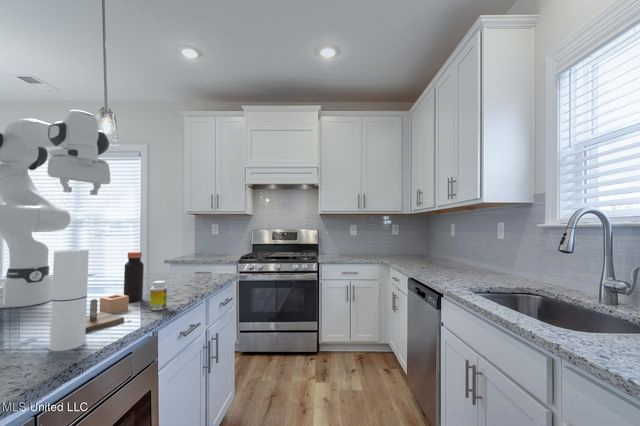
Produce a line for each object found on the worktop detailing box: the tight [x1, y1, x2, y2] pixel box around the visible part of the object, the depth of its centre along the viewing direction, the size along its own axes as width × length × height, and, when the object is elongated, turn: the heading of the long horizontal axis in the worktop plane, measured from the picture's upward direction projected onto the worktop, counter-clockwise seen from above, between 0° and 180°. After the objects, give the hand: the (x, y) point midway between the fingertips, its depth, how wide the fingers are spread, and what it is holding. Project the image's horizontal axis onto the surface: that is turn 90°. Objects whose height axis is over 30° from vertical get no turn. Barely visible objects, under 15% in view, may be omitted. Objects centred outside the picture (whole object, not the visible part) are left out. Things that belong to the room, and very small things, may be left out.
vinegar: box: [123, 251, 145, 303], centre depth 125 cm, size 7×7×20 cm
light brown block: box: [99, 293, 130, 315], centre depth 110 cm, size 6×6×5 cm
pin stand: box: [85, 298, 125, 334], centre depth 95 cm, size 12×12×8 cm
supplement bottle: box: [149, 280, 168, 311], centre depth 113 cm, size 6×6×10 cm
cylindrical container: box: [49, 249, 90, 352], centre depth 79 cm, size 7×7×25 cm
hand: (81, 193), depth 107 cm, fingers open, 8 cm apart
